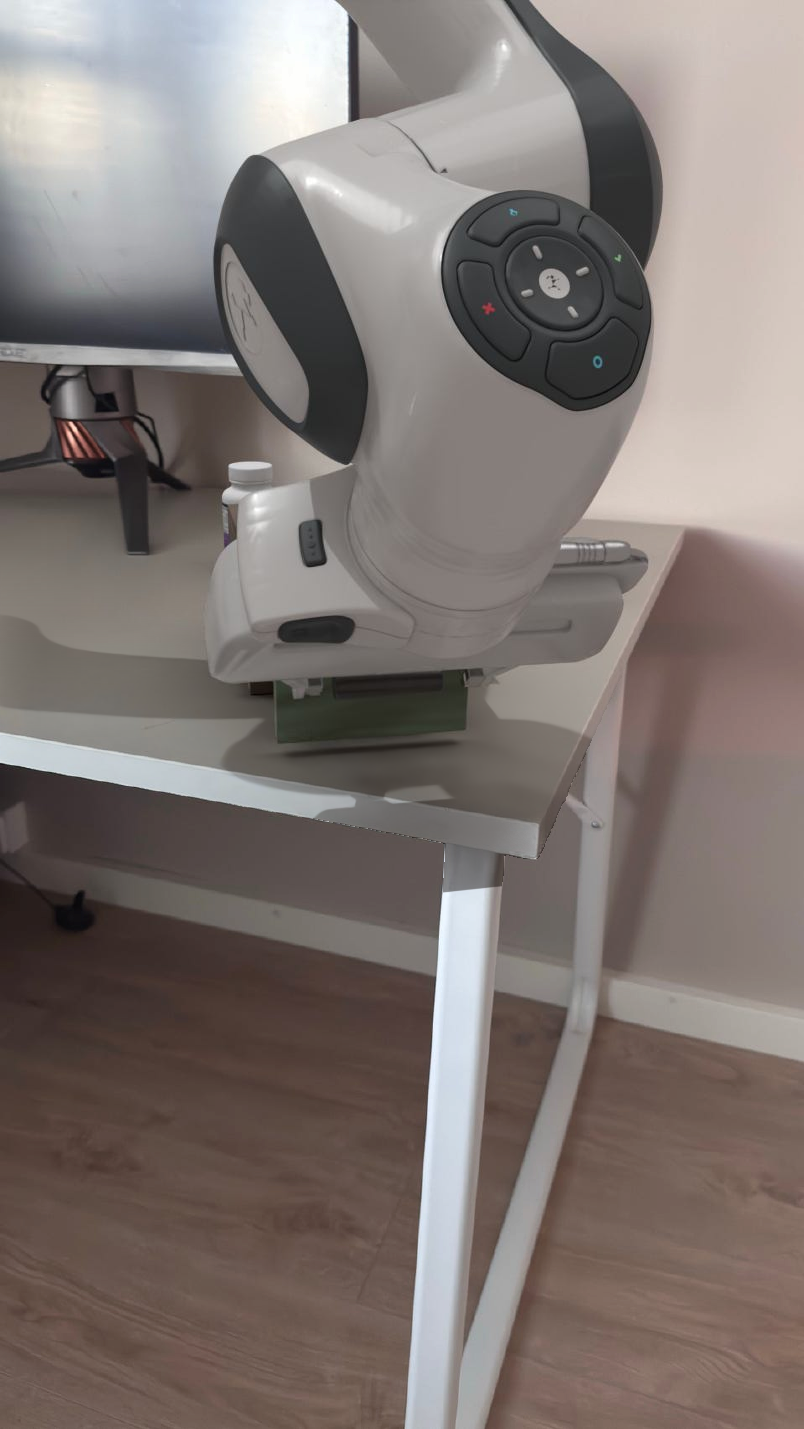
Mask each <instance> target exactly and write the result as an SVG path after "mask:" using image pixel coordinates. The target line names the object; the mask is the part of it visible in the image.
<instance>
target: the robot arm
mask: <svg viewBox="0 0 804 1429" xmlns="http://www.w3.org/2000/svg"><path fill="white" fill-rule="evenodd" d="M334 2H336V3H337V4H338V5H339V6H340V7H341V8H342V9H344V11H345V12H346V13H347V14H348V16H350V18H351V19H352V20H353V22H354V23H355V25H356V26H357V27H358V28H359V29H360V30H361V32H362V34H364V36H365V37H366V39H368V41H369V42H370V44H371V45H372V46H373V47H374V49H375V50H376V51H377V52H378V54H379V55H380V57H381V58H382V59H383V60H384V61H385V63H386V64H387V65H388V66H389V68H390V69H391V70H392V71H393V73H394V74H395V75H396V77H397V78H398V80H399V81H400V82H401V83H402V85H403V86H404V87H405V88H406V89H407V91H408V92H409V94H410V95H411V96H412V97H413V99H414V100H415V101H416V103H418V104H415V105H411V106H408V107H405V108H402V109H398V110H396V111H392V112H389V113H385V114H382V115H378V116H375V117H367V118H365V117H364V118H361V119H357V120H354V121H350V122H347V123H344V124H340V125H337V126H334V127H330V128H327V129H324V130H321V131H316V132H314V133H311V134H309V135H305V136H301V137H299V138H296V139H293V140H290V141H287V142H284V143H280V144H278V145H276V146H273V147H271V148H269V149H266V150H264V151H262V152H260V153H258V154H252V155H250V156H247V157H246V159H245V160H244V161H243V163H242V164H241V165H240V167H239V168H238V170H237V172H236V173H235V175H234V177H233V178H232V181H231V182H230V184H229V187H228V189H227V191H226V193H225V197H224V200H223V202H222V205H221V210H220V213H219V218H218V223H217V227H216V233H215V238H214V245H213V257H212V264H213V265H212V266H213V283H214V292H215V299H216V305H217V306H216V307H217V312H218V315H219V319H220V320H219V321H220V324H221V325H220V326H221V328H222V332H223V335H224V338H225V341H226V344H227V346H228V349H229V351H230V353H231V356H232V358H233V360H234V361H235V363H236V365H237V367H238V369H239V371H240V373H241V374H242V376H243V378H244V380H245V381H246V382H247V384H248V386H249V387H250V389H251V390H252V392H253V393H254V394H255V395H256V397H257V399H258V400H259V401H260V402H261V403H262V405H263V406H265V408H266V409H267V410H268V411H269V412H270V413H271V414H272V415H273V416H274V417H275V418H276V419H277V421H279V422H280V423H281V424H282V425H283V426H285V427H286V428H287V429H288V430H289V431H291V432H293V433H294V434H295V435H296V436H298V437H299V438H300V439H302V441H304V442H306V443H307V444H308V445H310V446H311V447H312V448H314V449H315V450H316V451H317V452H319V453H321V454H322V455H324V456H325V457H327V458H329V459H330V460H332V461H334V462H337V463H339V464H341V465H343V466H345V467H343V468H340V469H338V470H335V471H332V472H329V473H326V474H322V475H319V476H316V477H313V478H308V479H304V480H300V481H297V482H292V483H288V484H285V485H279V486H273V487H274V488H269V489H264V490H260V491H256V492H253V493H250V494H248V495H246V496H244V497H243V498H242V499H241V500H240V502H239V505H238V514H237V539H236V540H234V541H233V542H232V543H230V544H229V545H228V546H227V547H226V548H225V549H223V550H222V551H221V552H220V554H219V556H218V557H217V559H216V561H215V564H214V567H213V569H212V573H211V575H210V579H209V583H208V587H207V590H206V597H205V604H204V635H205V636H204V637H205V650H206V659H207V667H208V672H209V675H210V676H211V677H212V678H213V679H216V680H218V681H220V682H223V683H226V684H243V683H244V684H245V683H246V684H247V682H262V681H278V680H280V681H282V682H284V683H285V684H287V685H289V686H290V687H292V693H293V698H294V699H301V698H303V699H304V698H315V697H321V692H322V690H323V679H322V678H326V677H343V676H360V675H376V674H392V673H408V672H425V671H441V670H457V669H458V670H459V673H460V674H461V675H462V677H461V679H460V681H461V686H462V687H463V688H464V687H468V688H483V687H484V688H486V687H489V686H490V684H491V683H492V681H493V679H494V678H495V677H498V676H500V675H503V674H505V673H507V672H509V671H511V670H514V669H516V668H518V667H522V666H536V665H553V664H554V665H555V664H556V665H557V664H572V663H580V662H582V661H585V660H586V659H589V658H591V657H594V656H597V655H598V654H600V653H601V652H602V651H603V650H604V648H605V647H606V645H607V643H608V642H609V640H610V639H611V637H612V636H613V634H614V632H615V630H616V628H617V626H618V623H619V622H620V619H621V617H622V615H623V614H622V613H623V612H624V602H625V601H624V597H623V595H624V594H626V593H628V592H630V591H631V590H633V589H634V588H635V587H636V586H637V585H638V584H639V582H640V581H641V580H642V579H643V577H644V576H645V575H646V573H647V571H648V569H649V561H650V560H649V557H648V555H647V553H645V552H644V551H643V550H642V549H639V548H635V547H632V546H631V545H630V544H631V543H630V542H629V541H626V540H621V539H603V540H602V539H600V538H596V537H591V536H590V537H588V536H567V537H565V536H566V535H567V534H568V533H569V532H570V531H571V530H572V529H573V528H574V527H575V526H576V525H577V524H578V523H579V522H580V521H581V519H583V516H584V515H585V513H586V512H587V510H588V509H589V508H590V507H591V504H592V503H593V502H594V500H595V498H596V496H597V495H598V494H599V491H600V489H601V487H602V486H603V484H604V483H605V481H606V478H607V477H608V476H609V474H610V471H611V470H612V468H613V466H614V463H616V460H617V458H618V456H619V455H620V452H621V450H622V449H623V446H624V444H625V443H626V440H627V438H628V436H629V434H630V431H631V429H632V426H633V424H634V422H635V419H636V417H637V414H638V411H639V409H640V406H641V404H642V402H643V397H644V395H645V390H646V387H647V383H648V379H649V375H650V374H649V373H650V369H651V365H652V364H651V363H652V358H653V351H654V350H653V348H654V336H655V335H654V334H655V312H654V303H653V297H652V294H651V289H650V285H649V283H648V279H647V277H646V274H645V270H646V269H647V266H648V265H649V261H650V258H651V255H652V253H653V251H654V248H655V244H656V241H657V236H658V234H659V229H660V223H661V218H662V212H663V203H664V201H663V200H664V184H663V183H664V182H663V181H664V180H663V171H662V164H661V160H660V156H659V153H658V152H659V151H658V149H657V146H656V142H655V140H654V137H653V135H652V132H651V130H650V128H649V125H648V124H647V121H646V120H645V118H644V116H643V114H642V113H641V111H640V109H639V107H638V106H637V105H636V103H635V102H634V100H633V99H632V98H631V97H630V95H629V94H628V93H627V91H626V90H624V88H623V86H621V84H620V83H619V82H618V81H617V80H616V79H615V78H614V77H613V76H612V75H611V74H610V73H609V72H608V71H607V70H606V69H605V68H604V67H603V66H602V65H600V64H599V62H597V61H596V60H594V59H593V58H592V57H591V56H590V55H588V54H587V53H586V52H584V51H583V50H581V49H580V48H579V47H577V45H575V44H574V43H572V42H571V41H570V40H568V39H567V38H566V37H565V36H564V35H562V33H560V32H559V31H558V30H557V29H556V28H555V27H554V26H553V25H551V23H550V22H549V21H548V20H547V19H546V18H545V16H543V14H541V12H540V11H539V10H538V9H537V8H536V6H535V5H534V4H533V3H532V2H531V0H334ZM350 464H351V465H350Z"/></svg>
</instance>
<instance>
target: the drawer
mask: <svg viewBox="0 0 804 1429" xmlns="http://www.w3.org/2000/svg"><path fill="white" fill-rule="evenodd" d="M461 677H462V675H461V674H460V673H459V670H458V669H457V670H441V671H425V672H408V673H392V674H376V675H360V676H343V677H326V678H322V679H323V690H322V692H321V697H315V698H304V699H303V698H301V699H294V698H293V693H292V687H290V686H289V685H287V684H285V683H284V682H282V681H280V680H278V681H273V685H274V693H273V717H274V720H273V721H274V722H273V723H274V737H275V741H276V744H277V745H281V744H283V745H284V744H296V743H297V744H298V743H309V742H311V743H312V742H323V741H338V740H348V739H349V740H351V739H364V738H379V737H392V736H406V735H408V736H409V735H419V734H421V735H422V734H433V733H447V732H448V733H449V732H462V731H467V721H468V720H467V718H468V701H469V700H468V699H469V687H464V688H463V687H462V686H461V681H460V679H461Z"/></svg>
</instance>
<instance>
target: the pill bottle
mask: <svg viewBox="0 0 804 1429" xmlns="http://www.w3.org/2000/svg"><path fill="white" fill-rule="evenodd" d="M273 469H274V468H273V465H272V464H271V463H269V462H265V461H238V462H233V463H230V464H228V481H229V482H230V483H231V486H230V487H227V488H226V489H224V491H223V493H222V495H221V507H222V508H221V509H222V526H223V528H222V529H223V548H224V549H225V548H226V547H227V546H228V545H229V533H228V508H227V505H228V504H239V502H240V500H241V499H242V498H243V497H244V496H246V495H248V494H250V493H253V492H256V491H260V490H264V489H269V488H274V487H275V486H272V485H271V482H273V479H274V473H273ZM224 549H223V550H224Z"/></svg>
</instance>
